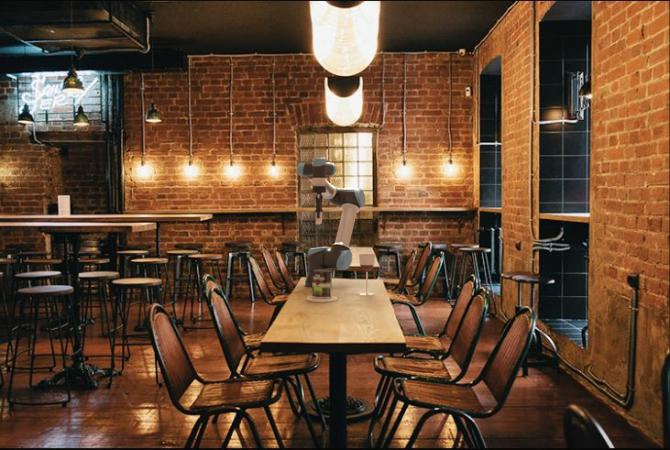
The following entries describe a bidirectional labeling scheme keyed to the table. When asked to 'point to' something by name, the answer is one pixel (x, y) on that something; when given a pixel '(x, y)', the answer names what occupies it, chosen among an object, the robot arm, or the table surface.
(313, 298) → the plate
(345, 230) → the robot arm
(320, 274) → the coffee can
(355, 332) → the table surface
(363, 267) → the wineglass
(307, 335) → the table surface
